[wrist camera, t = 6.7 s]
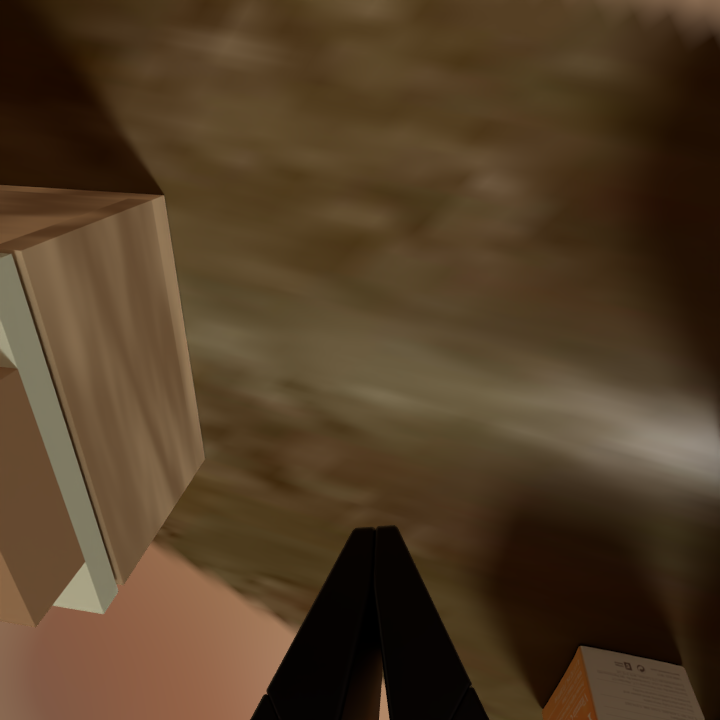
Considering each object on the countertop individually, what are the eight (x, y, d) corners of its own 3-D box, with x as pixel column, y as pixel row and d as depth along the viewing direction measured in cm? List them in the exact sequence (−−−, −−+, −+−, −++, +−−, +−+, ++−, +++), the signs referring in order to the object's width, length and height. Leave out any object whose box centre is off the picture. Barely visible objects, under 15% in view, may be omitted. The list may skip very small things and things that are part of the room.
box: (164, 195, 21) (21, 250, 14) (205, 458, 27) (123, 585, 20) (-32, 182, 22) (-257, 228, 15) (54, 439, 28) (-72, 553, 21)
